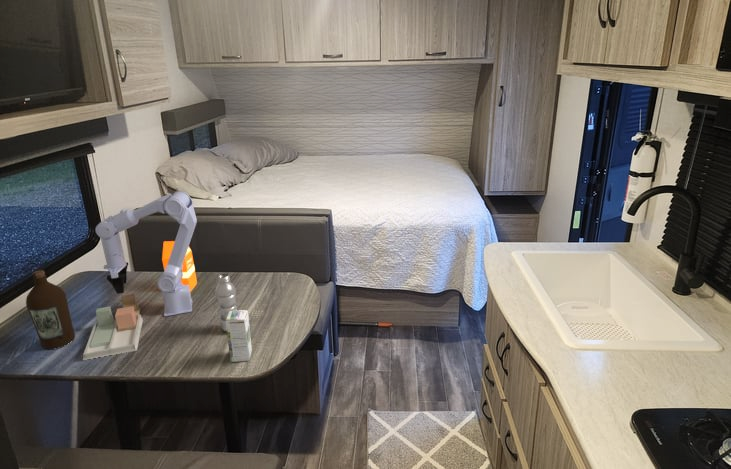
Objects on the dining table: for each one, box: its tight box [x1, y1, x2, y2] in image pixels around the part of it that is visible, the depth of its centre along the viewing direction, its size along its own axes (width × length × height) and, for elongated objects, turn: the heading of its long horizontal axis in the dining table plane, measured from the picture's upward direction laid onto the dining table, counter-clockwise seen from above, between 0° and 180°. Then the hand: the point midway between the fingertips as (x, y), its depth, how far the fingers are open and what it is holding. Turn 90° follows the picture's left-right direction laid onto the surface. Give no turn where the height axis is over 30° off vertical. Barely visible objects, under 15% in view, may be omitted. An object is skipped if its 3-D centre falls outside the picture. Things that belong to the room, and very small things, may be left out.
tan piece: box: [117, 293, 141, 332], centre depth 164 cm, size 14×6×6 cm, turn 19°
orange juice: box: [161, 240, 198, 293], centre depth 186 cm, size 8×9×20 cm
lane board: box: [82, 313, 144, 361], centre depth 155 cm, size 20×15×2 cm
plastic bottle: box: [214, 272, 238, 333], centre depth 156 cm, size 6×7×20 cm
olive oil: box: [25, 269, 76, 350], centre depth 150 cm, size 11×11×25 cm
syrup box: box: [225, 309, 253, 363], centre depth 142 cm, size 6×6×14 cm
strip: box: [90, 306, 116, 348], centre depth 155 cm, size 14×6×6 cm, turn 19°
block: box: [114, 306, 136, 329], centre depth 160 cm, size 5×5×5 cm
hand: (121, 288), depth 168 cm, fingers open, 7 cm apart
